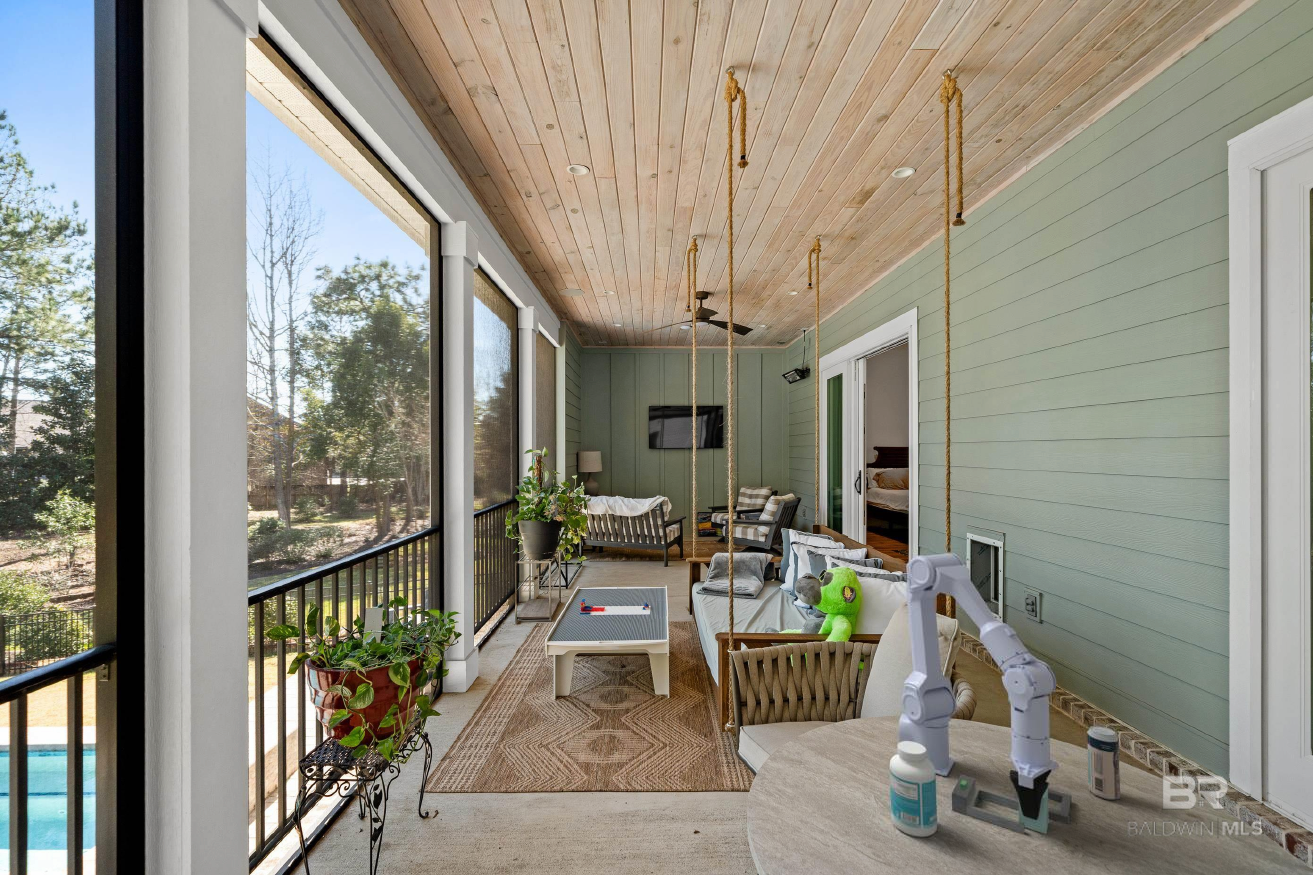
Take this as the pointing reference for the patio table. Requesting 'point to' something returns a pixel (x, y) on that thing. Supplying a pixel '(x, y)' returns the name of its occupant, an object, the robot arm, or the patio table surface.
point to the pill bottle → (913, 790)
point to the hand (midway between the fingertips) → (1031, 810)
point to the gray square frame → (1065, 805)
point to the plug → (1043, 817)
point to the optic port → (969, 795)
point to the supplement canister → (1103, 762)
